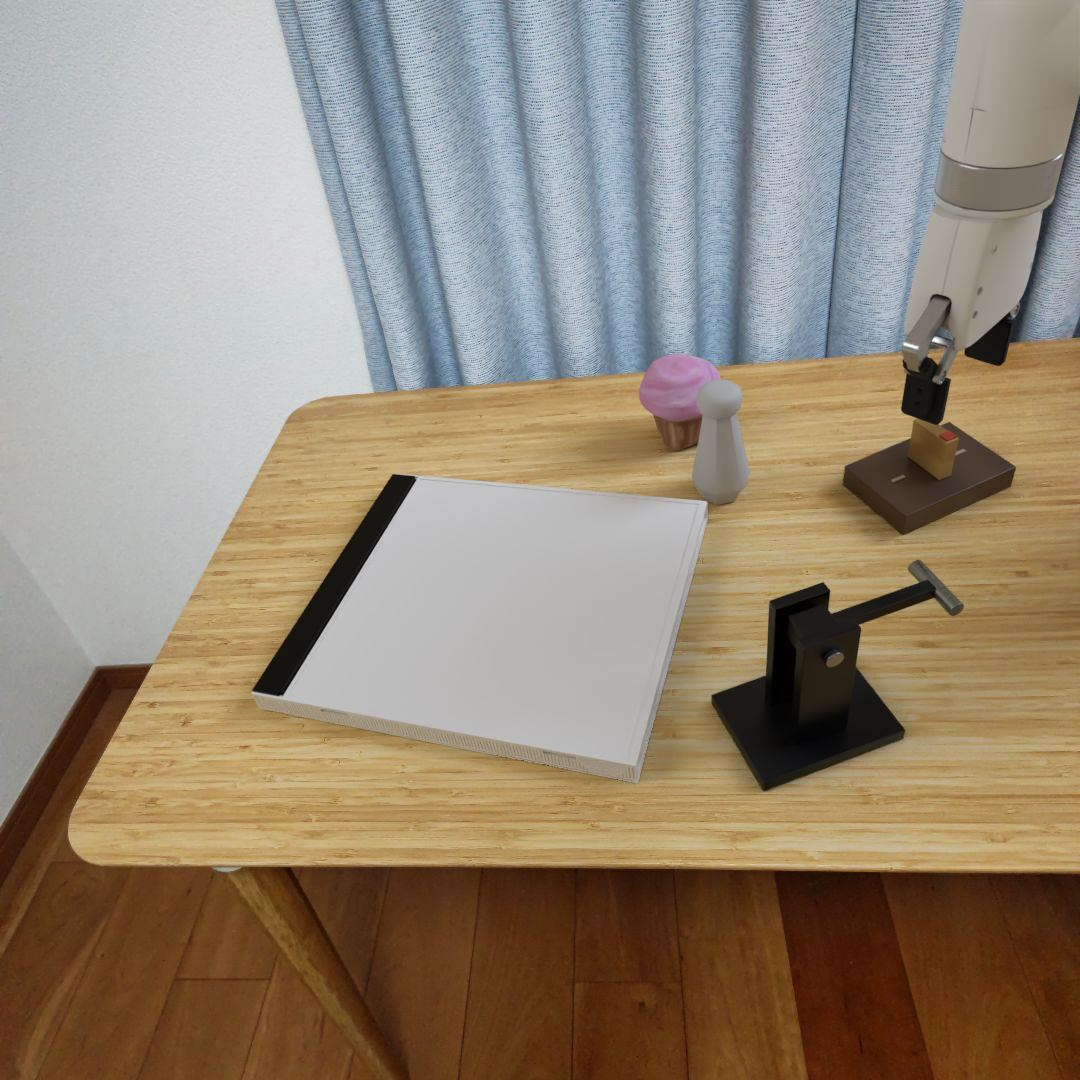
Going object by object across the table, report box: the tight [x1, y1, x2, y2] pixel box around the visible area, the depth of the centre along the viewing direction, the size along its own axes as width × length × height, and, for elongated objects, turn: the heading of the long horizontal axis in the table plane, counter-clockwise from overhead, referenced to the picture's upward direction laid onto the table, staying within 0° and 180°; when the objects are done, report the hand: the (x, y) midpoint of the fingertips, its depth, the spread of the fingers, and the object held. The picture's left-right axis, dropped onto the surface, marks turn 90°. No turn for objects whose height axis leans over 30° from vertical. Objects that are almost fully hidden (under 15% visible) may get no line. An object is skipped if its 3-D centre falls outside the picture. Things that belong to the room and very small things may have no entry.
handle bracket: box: [710, 581, 906, 792], centre depth 68 cm, size 12×9×13 cm
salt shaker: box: [691, 378, 751, 506], centre depth 89 cm, size 6×6×13 cm
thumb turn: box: [908, 418, 959, 480], centre depth 87 cm, size 4×1×5 cm, turn 24°
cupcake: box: [638, 352, 722, 451], centre depth 98 cm, size 9×9×10 cm
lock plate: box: [842, 421, 1017, 536], centre depth 89 cm, size 13×9×3 cm
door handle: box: [787, 559, 965, 650], centre depth 65 cm, size 12×5×2 cm, turn 108°
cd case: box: [250, 472, 709, 784], centre depth 85 cm, size 35×2×31 cm
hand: (953, 387), depth 72 cm, fingers open, 9 cm apart
